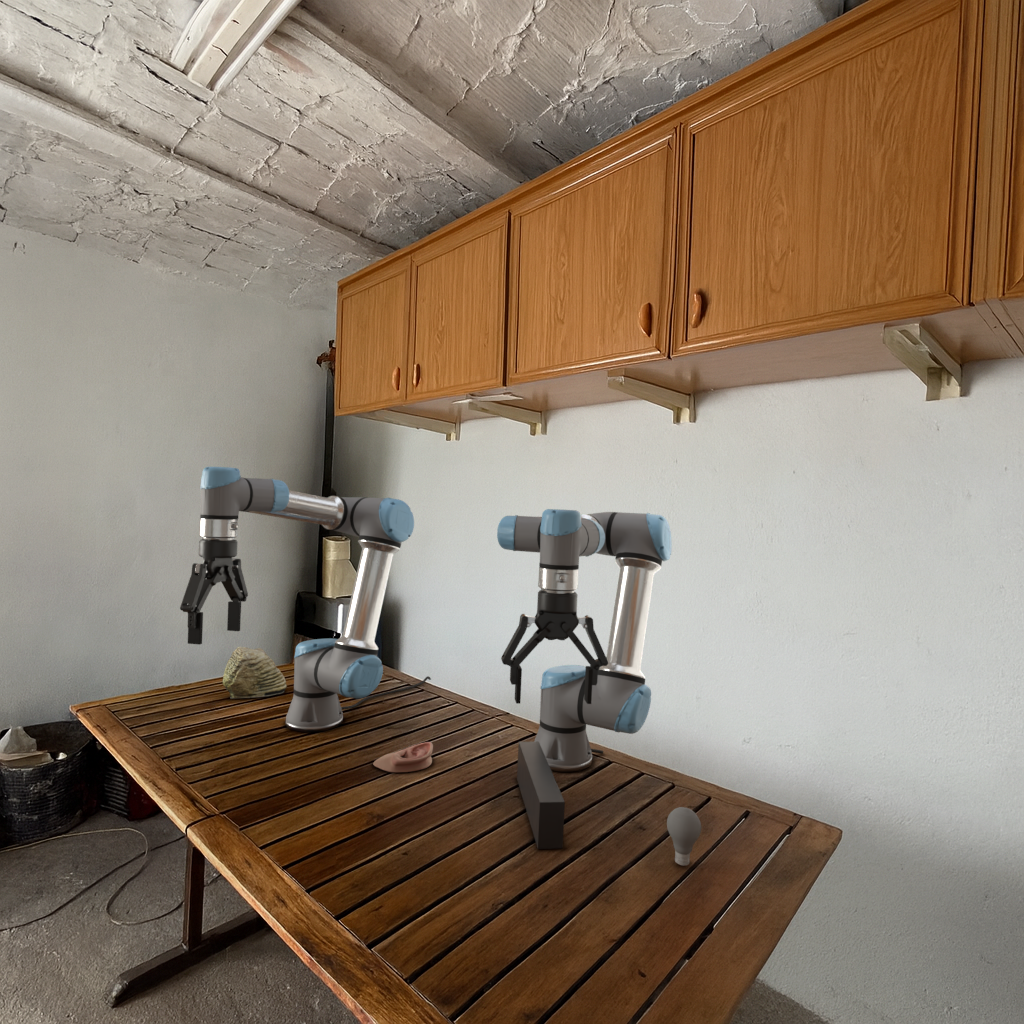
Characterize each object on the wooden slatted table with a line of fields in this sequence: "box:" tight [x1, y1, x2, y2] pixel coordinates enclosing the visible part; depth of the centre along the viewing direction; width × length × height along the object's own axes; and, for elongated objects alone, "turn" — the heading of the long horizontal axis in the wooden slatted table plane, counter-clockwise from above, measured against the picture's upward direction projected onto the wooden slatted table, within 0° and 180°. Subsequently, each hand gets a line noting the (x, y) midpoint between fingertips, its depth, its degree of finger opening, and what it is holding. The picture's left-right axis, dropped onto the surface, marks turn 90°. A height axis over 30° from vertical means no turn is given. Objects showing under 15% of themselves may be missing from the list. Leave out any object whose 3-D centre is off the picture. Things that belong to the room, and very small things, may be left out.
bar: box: [516, 741, 566, 850], centre depth 132 cm, size 29×5×9 cm, turn 7°
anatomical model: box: [372, 741, 434, 773], centre depth 152 cm, size 13×4×12 cm
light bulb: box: [666, 806, 702, 867], centre depth 114 cm, size 6×6×10 cm
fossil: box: [222, 646, 288, 699], centre depth 198 cm, size 9×18×15 cm, turn 132°
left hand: (215, 637), depth 137 cm, fingers open, 13 cm apart
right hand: (552, 701), depth 121 cm, fingers open, 13 cm apart
